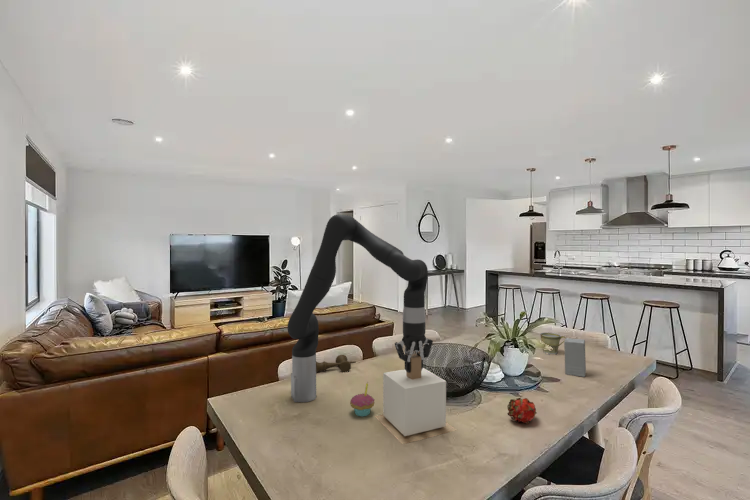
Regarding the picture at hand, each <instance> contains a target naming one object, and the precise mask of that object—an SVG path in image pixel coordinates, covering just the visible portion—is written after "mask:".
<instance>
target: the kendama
mask: <svg viewBox="0 0 750 500" xmlns="http://www.w3.org/2000/svg"><path fill="white" fill-rule="evenodd" d="M355 363H357V361H355V360H354V361H349V360H348V356H346V355H345V354H340V355H337V356H336V358H335V362H327V361H325V360H323V362H319V361H316V374H317V373H319V372H321V371H325V372H326V371H327V370H328V369H332V368H335V367H338V368H339V371H340V372H341V373H348V372H349V371H350V370H351V368H352V364H355ZM347 371H348V372H347Z"/></svg>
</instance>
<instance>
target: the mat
mask: <svg viewBox="0 0 750 500" xmlns="http://www.w3.org/2000/svg"><path fill="white" fill-rule="evenodd" d="M374 417H375V418H376V419H377V420H378V422H380V424H381V425H382V426H384V427H385V429H386V430H387V431H389V432H390V434H391V435H392V436H393V437H394V438H396V439H397V441H398V442H399V443H400V444H401V445H405V444H406V445H407V444H409V443H414V442H418V441H421V440H425V439H429V438H432V437H437V436H441V435H444V434H448V433H452V432H456V431H457V428H455V427H454V426H452V425H451V424H449V423H448V422H447V421H446V426H445V427H441V428H437V429H433V430H428V431H424V432H420V433H416V434H412V435H408V436H404V435H403V434H402V433H401V432H400V431H399V430H398V429H397V428H396V427H395V426H394V425H393V424H392V423H391V422H390V421H389V420H388V419H386V418H385V417H384V416H383V413H382V414H378V415H375V416H374Z"/></svg>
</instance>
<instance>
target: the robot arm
mask: <svg viewBox="0 0 750 500" xmlns="http://www.w3.org/2000/svg"><path fill="white" fill-rule="evenodd" d="M343 241H350V242H354V243H355V244H358V245H360V246H362V248H364V250H366V251H367V252H368V253H369V254H370V255H371V256H372V257H373V258H374V259H376V260H377V261H378V262H380V263H382V264H383V265H385V266H386V267H388V268H390V269H391V270H392V271H393V272H394V273H395V274H396V275H397V276H399V277H400V278H401V279H402V280H404V281H407V287H406V289H405V290H404V291H403V310H402V339H401V340H400V341H399V342H397V341H395V342H394V347H395V350H396V353H397V355H398V358H399V359H400V360H402V361H403V362H404V369H405V370H406V372H408V373H410V372H411V362H410V361H411V356H412V355H413V354H414V352H415V354H417V355H419V356H421V371H422V369H423V368H424V359H426V358H428V357H429V355H430V353H431V349H432V346H433V342H434V340H433V339H430V338H427V337H426V298H425V297H426V294H425V293H426V289H427V284H428V278H429V269H428V265H427V264H426V262H424V261H423V260H422V259H411V258H409V257H407V256H406V255H405V254H404V252H403V251H402V250H401V249H399V248H397V247H396V246H394V245H393V244H391V243H389V242H388V241H386V240H384V239H382V238H381V237H379V236H377V235H376V234H374V233H373V232H371V231H370V230H369V229H368V228H366V227H365V226H364V225H362V223H360V222H359V221H358V220H357V219H355V217H353V216H351V215H348V214H347V215H346V214H334V215H332V216H331V217H330V218H329V219H328V221H327V223H326V225H325V229H324V232H323V237H322V239H321V243H320V246H319V249H318V252H317V254H316V257H315V260H314V263H313V265H312V267H311V269H310V272H309V274H308V276H307V280H306V282H305V285H304V288H303V290H302V292H301V294H300V297H299V300H298V302H297V304H296V306H295V308H294V310H293V311H292V313H291V315H290V318H289V319H288V322H287V333H288V335H289V336H290V338H291V339H294V340H297V341H296V343H295V344H294V345H293V347H292V348H291V349H292V350H291V362H292V363H291V365H292V366H291V370H292V371H291V373H290V394H291V395H290V397H291V400H293V402H294V403H307V402H312V401H314V400H316V398H317V373H316V362H317V348H318V345H319V331H320V330H319V321H318V318H317V316H316V315H315V313H314V310H315V309H316V307H318V305H319V304H320V303H321V302H322V301H323V299H324V298H325V297H326V296H327V294H328V293H329V292H330V289H331V288H332V286H333V282H334V281H335V278H336V273H337V260H336V259H337V253H338V251H339V249H340V246H341V244H342V242H343ZM403 348H404V349H403Z"/></svg>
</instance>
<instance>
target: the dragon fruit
mask: <svg viewBox="0 0 750 500" xmlns="http://www.w3.org/2000/svg"><path fill="white" fill-rule="evenodd" d="M507 411H508V412H507V416H508V417H511V420H512V421H515V422H516V423H520V422H522V423H524V424H526V425H528V424H529V422H532V420H533V419H534V418H535V416H536V414H538V413H537V412H536V411H537V409H536V405H535V402H533V401H530V400H529V398H528V397H524V398H521V397H516V399H515V398H513V399H510V400H509V402H508V404H507Z"/></svg>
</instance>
